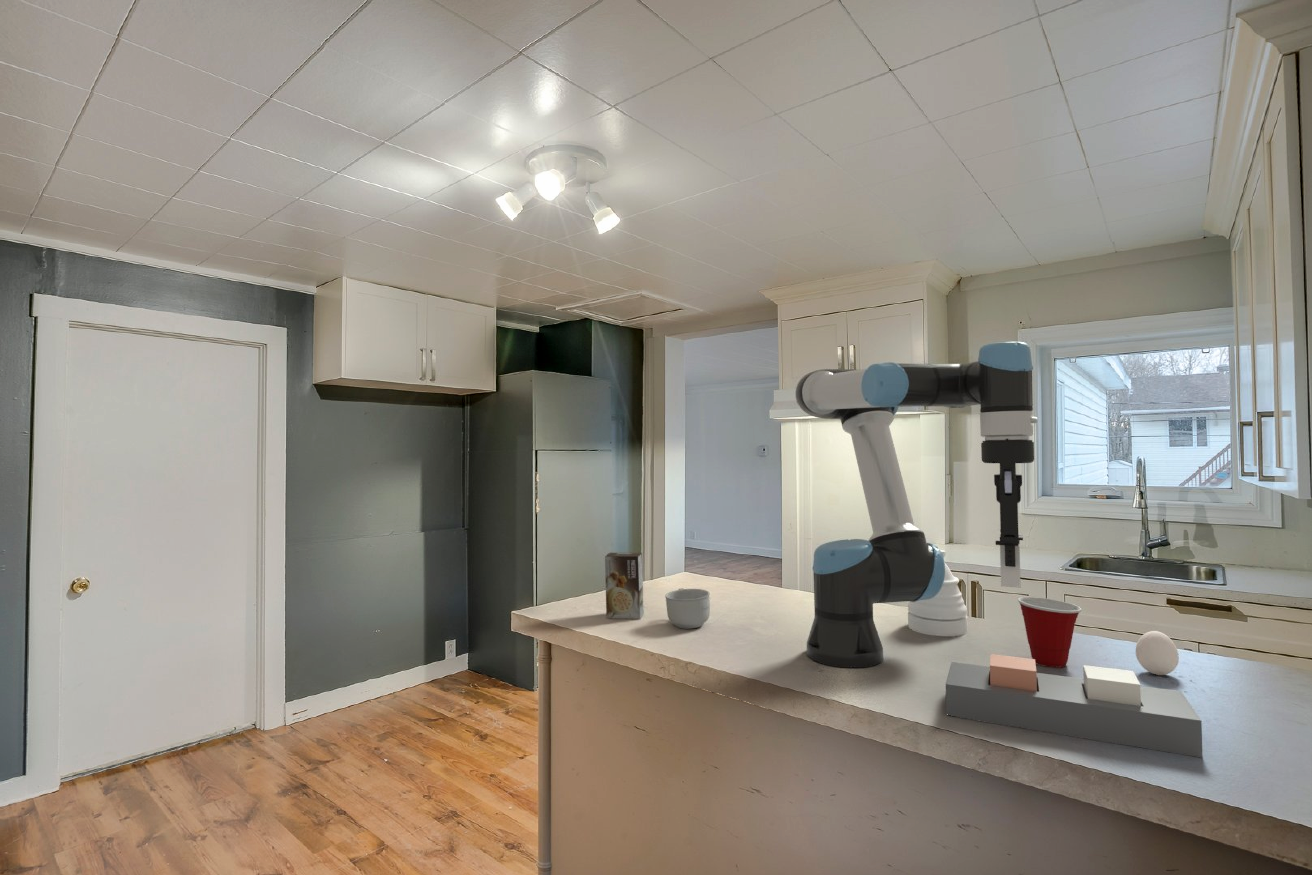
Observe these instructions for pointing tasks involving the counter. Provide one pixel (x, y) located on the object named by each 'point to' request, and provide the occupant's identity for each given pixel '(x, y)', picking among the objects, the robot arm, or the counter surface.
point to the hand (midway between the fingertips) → (1010, 583)
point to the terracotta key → (1013, 672)
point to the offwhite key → (1111, 685)
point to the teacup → (688, 607)
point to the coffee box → (624, 585)
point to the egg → (1157, 653)
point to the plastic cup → (1049, 629)
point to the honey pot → (940, 610)
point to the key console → (1076, 711)
